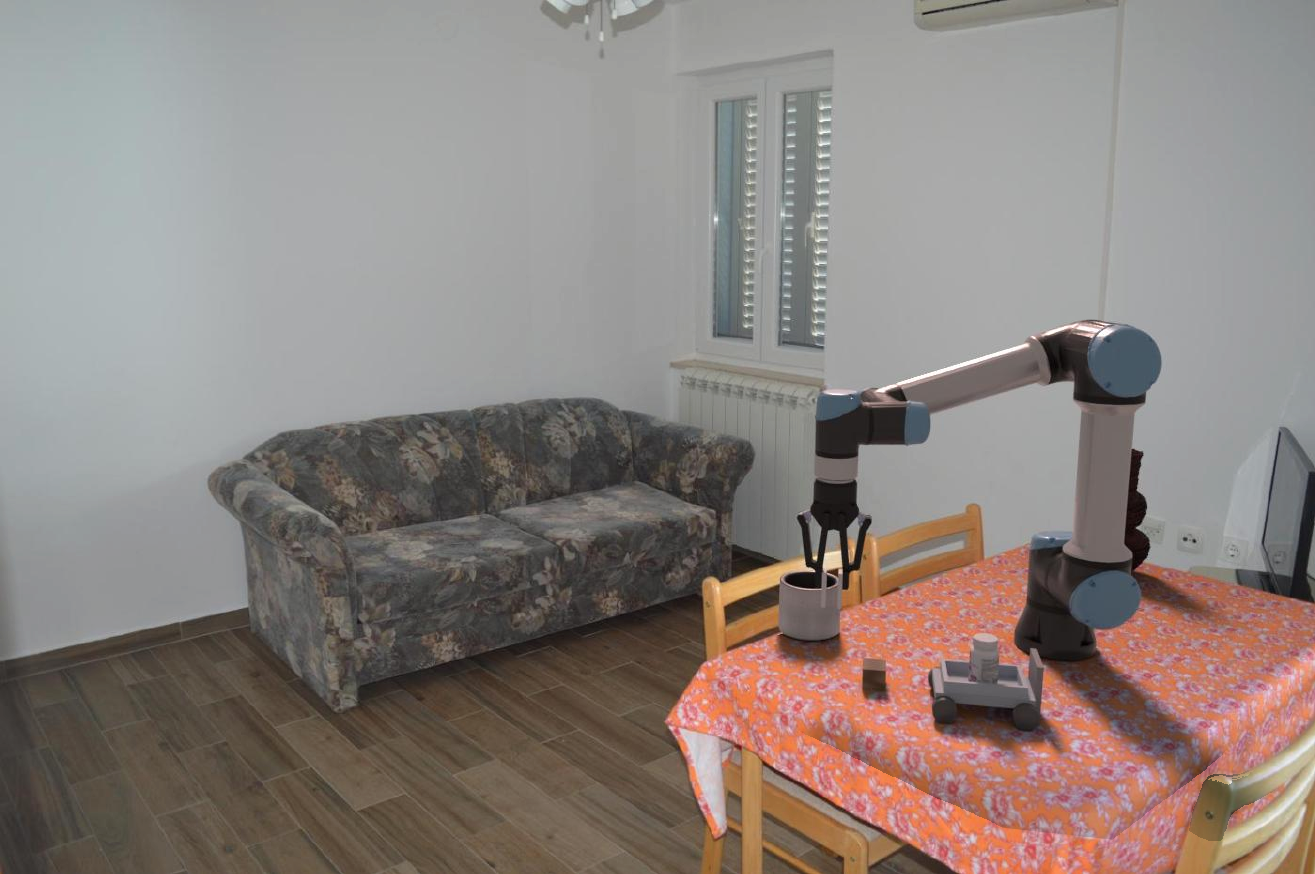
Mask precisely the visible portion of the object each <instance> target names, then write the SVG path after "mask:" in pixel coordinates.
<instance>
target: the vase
mask: <svg viewBox="0 0 1315 874" xmlns="http://www.w3.org/2000/svg"><path fill="white" fill-rule="evenodd" d="M1144 455H1145V454H1144V451H1143V450H1138V449H1135V448H1132V452H1131V464H1130V476H1129V488H1128V500H1127V512H1126V524H1125V536H1124V544H1125V546H1126V547H1127V548H1128V549H1129V550H1130V551H1131V552H1132V567H1131V574H1132V573H1133V572H1134V571H1135V570H1136V569H1138V568H1139V567H1140V566H1141V565H1142V564H1143V563H1144V561H1146V559H1148V556H1149V552H1150V550H1151V547H1152V546H1151V544H1150V543H1151V542H1150V538H1149V537H1148V536H1147V534H1146V533H1144V532H1143V531H1142V530H1140V529H1138V528H1139V526H1141V525H1142V524H1143V521H1144V518H1145V517H1146V515H1147V510H1148V502H1147V498H1146V496H1145V495H1144V494H1142V493H1141V492H1139V490H1138V488H1139V487H1138V486H1139V480H1140V478H1139V475H1140V469H1141V468H1142V459H1143V457H1144Z"/></svg>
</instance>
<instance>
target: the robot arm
mask: <svg viewBox="0 0 1315 874" xmlns="http://www.w3.org/2000/svg"><path fill="white" fill-rule="evenodd" d="M1162 362H1163V361H1162V354H1161V351H1160V348H1159V346H1158V344H1157V343H1156V341H1155V339H1153V338H1152V337H1151V336H1150V335H1149V334H1148V333H1147V332H1145V331H1143V330H1142V329H1140V328H1137V327H1134V326H1132V325H1129V324H1125V323H1119V322H1118V323H1117V322H1111V321H1103V320H1099V319H1082V320H1078V321H1073V322H1070V323H1067V324H1065V325H1061V326H1058V327H1055V328H1052V329H1049V330H1046V331H1042V332H1040V333H1037V334H1034V335H1031V336H1028V337H1027V338H1026V339H1025V341H1024V342H1023V344H1020V345H1016V346H1014V347H1011V348H1007V349H1004V350H1000V351H997V352H995V353H991V354H987V355H985V356H981V357H978V358H975V359H972V360H968V361H965V362H961V363H958V364H955V365H952V366H948V367H946V368H942V369H939V370H936V371H932V372H929V373H926V374H923V375H920V376H916V377H913V378H910V379H906V380H903V381H901V382H900V381H899V382H897V383H894V384H890V385H887V386H884V387H880V388H878V387H865V388H862V389H860V390H859V391H856V390H852V389H841V388H840V389H839V388H838V389H826V390H822V391H821V392H820V393H818V395H817V398H816V409H815V417H814V419H815V438H814V440H815V441H814V442H815V443H814V444H815V445H814V450H815V451H814V463H813V465H814V467H813V468H814V469H813V474H814V477H816V478H815V479H813V502H812V504H811V505H810V508H808V509H807V510H805V511H802V510H801V511H799V512H798V513H797V516H796V519H797V521H798V524H799V526H800V528H801V535H802V545H803V554H804V556H803V557H804V561H805V563H804V564H805V567H806V568H808V569H809V568H810V569H812V570H814V571H815V573H816V574H815V586H816V588H821V608H825V605H826V581H827V573H828V568H827V567H824V561H825V554H826V547H827V539H828V534H829V531H838V534H839V542H840V543H839V545H840V556H841V568H838V571H837V572H838V574H837V577H838V597H837V609H840V610H842V605H843V590H844V591H848V589H849V588H850V574H851V573H852V572H854V571H856V572H857V571H860V569H861V563H862V558H863V551H864V549H865V548H864V547H865V542H866V541H865V540H866V537H867V531H868V530H869V528H870V527H871V524H872V522H873V519H872V518H873V517H872V516H871V515H870V514H865V513H863V512H861V511H860V508H859V506H858V503H857V501H858V499H857V498H858V481H857V479H856V478H857V477H858V476H859V472H858V470H859V448H860V446H906V447H907V446H910V445H911V446H913V445H921V444H924V443H926V441H927V440H928V438H929V437H930V433H931V415H935V414H939V413H941V412H944V411H948V410H951V409H954V408H957V407H961V406H964V405H965V406H966V405H968V404H971V403H974V402H977V401H981V400H984V399H987V398H991V397H994V396H997V395H1001V394H1004V393H1008V392H1010V391H1014V390H1017V389H1020V388H1024V387H1027V386H1030V385H1034V384H1037V385H1039V386H1041V387H1046V386H1049V385H1052V384H1056V383H1057V384H1058V383H1062V382H1063V383H1067V382H1071V383H1072V382H1073V395H1072V400H1073V402H1074V403H1075V404H1077V406H1078V407H1079V408H1080V411H1081V412H1080V425H1079V426H1080V429H1079V440H1078V454H1077V467H1076V479H1075V481H1076V482H1075V483H1076V484H1075V494H1074V495H1075V497H1074V509H1073V510H1074V511H1073V522H1072V523H1073V524H1072V531H1066V530H1045V531H1039V532H1036V533H1035V534H1033V535H1032V536H1031V540H1030V543H1029V544H1030V545H1029V549H1028V553H1029V555H1028V556H1029V557H1028V570H1027V582H1026V583H1027V586H1026V600H1025V601H1026V602H1025V606H1024V607H1023V610H1022V612H1021V614H1020V616H1019V619H1018V621H1017V623H1016V626H1015V629H1014V633H1013V634H1014V635H1013V642H1014V644H1015V645H1016V646H1017V647H1018V648H1019V649H1020V650H1022V651H1024V652H1026V653H1029V654H1030V648H1034V649H1037V652H1038V654H1039V657H1040V658H1044V659H1049V660H1055V661H1071V662H1073V661H1082V660H1086V659H1090V658H1091V657H1093V656H1094V655H1096V652H1097V637H1096V633H1095V630H1100V631H1104V630H1105V631H1106V630H1113V629H1116V628H1119V627H1121V626H1122V625H1124V624H1126V622H1127V621H1129V620H1131V619H1132V618H1133V617H1134V615H1136V613H1137V612H1138V610H1139V607H1140V605H1141V602H1142V591H1141V588H1140V587H1141V586H1140V585H1139V583H1138V582H1137V579H1136V578H1134V576H1133V575H1132V573H1131V567H1132V552H1131V551H1130V550H1129V549H1128V548H1127V547H1126V546H1125V544H1124V536H1125V524H1126V512H1127V500H1128V488H1129V476H1130V464H1131V452H1132V449H1133V437H1134V427H1135V425H1134V424H1135V414H1136V413H1137V411H1138V410H1139V409H1141V408H1142V407H1143V406H1144V405H1146V401H1147V400H1146V399H1147V391H1149V390H1150V389H1151V388H1152V386H1153V385H1154V384H1155V383H1156V382H1157V381H1158V379H1159V377H1160V374H1161V371H1162V364H1163V363H1162ZM812 517H813V519H815V521H816V522H817V524H818V525H819V527H820V528H821V529H820V534H819V535H820V537H819V542H818V550H817V556H816V557H817V558H816V559H814V558H813V549H812V539H811V530H810V523H811V520H812ZM856 519H858V520H857V525H858V526H859V528H858V529H859V530H858V533H857V538H856V539H857V540H856V545H855V546H856V547H855V552H854V556H853V561H851V562H850V553H849V540H848V528H849V527H850V526H851V524H852V523H853V522H854V521H855V520H856Z"/></svg>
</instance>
